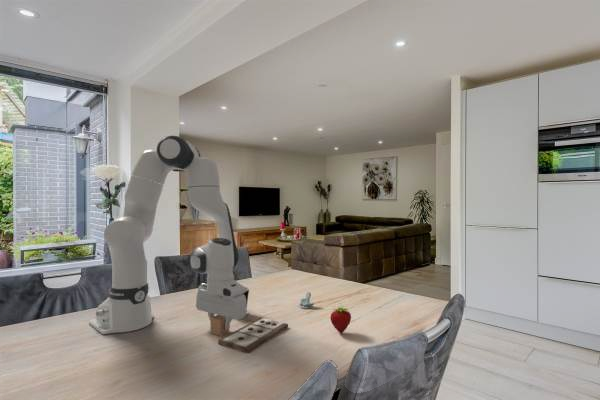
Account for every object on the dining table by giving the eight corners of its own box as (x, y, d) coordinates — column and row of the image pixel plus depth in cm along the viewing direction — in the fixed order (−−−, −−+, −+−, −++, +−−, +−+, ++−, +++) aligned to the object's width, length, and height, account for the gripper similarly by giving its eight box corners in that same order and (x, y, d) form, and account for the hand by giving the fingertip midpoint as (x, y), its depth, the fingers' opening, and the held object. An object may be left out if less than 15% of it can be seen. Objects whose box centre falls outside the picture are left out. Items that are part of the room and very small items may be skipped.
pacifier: (303, 310, 129) (316, 308, 132) (303, 295, 129) (316, 293, 132) (295, 305, 136) (307, 303, 138) (295, 291, 136) (307, 289, 138)
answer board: (218, 343, 98) (218, 338, 98) (260, 320, 117) (260, 316, 117) (248, 353, 92) (248, 347, 92) (287, 327, 111) (287, 322, 111)
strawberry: (326, 331, 108) (326, 302, 108) (344, 328, 111) (345, 299, 111) (336, 338, 102) (336, 307, 102) (354, 334, 106) (355, 304, 106)
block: (210, 332, 106) (210, 317, 106) (219, 328, 110) (219, 313, 110) (220, 335, 104) (220, 320, 104) (229, 330, 108) (229, 316, 108)
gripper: (191, 284, 109) (191, 324, 109) (237, 293, 99) (236, 336, 99) (205, 280, 115) (205, 318, 115) (249, 288, 105) (249, 329, 105)
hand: (220, 326), depth 107 cm, fingers closed on block, 4 cm apart
